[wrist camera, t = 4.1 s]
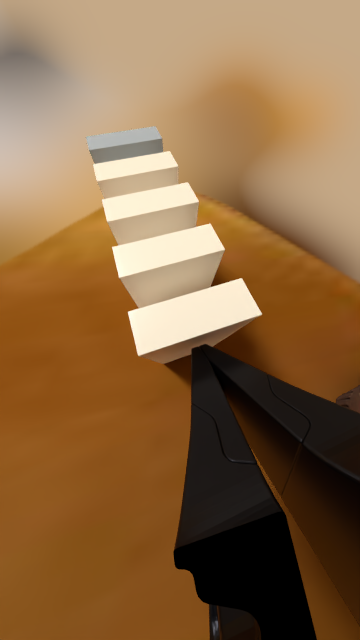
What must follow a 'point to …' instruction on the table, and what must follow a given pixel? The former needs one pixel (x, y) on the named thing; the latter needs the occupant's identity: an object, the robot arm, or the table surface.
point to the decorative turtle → (350, 399)
